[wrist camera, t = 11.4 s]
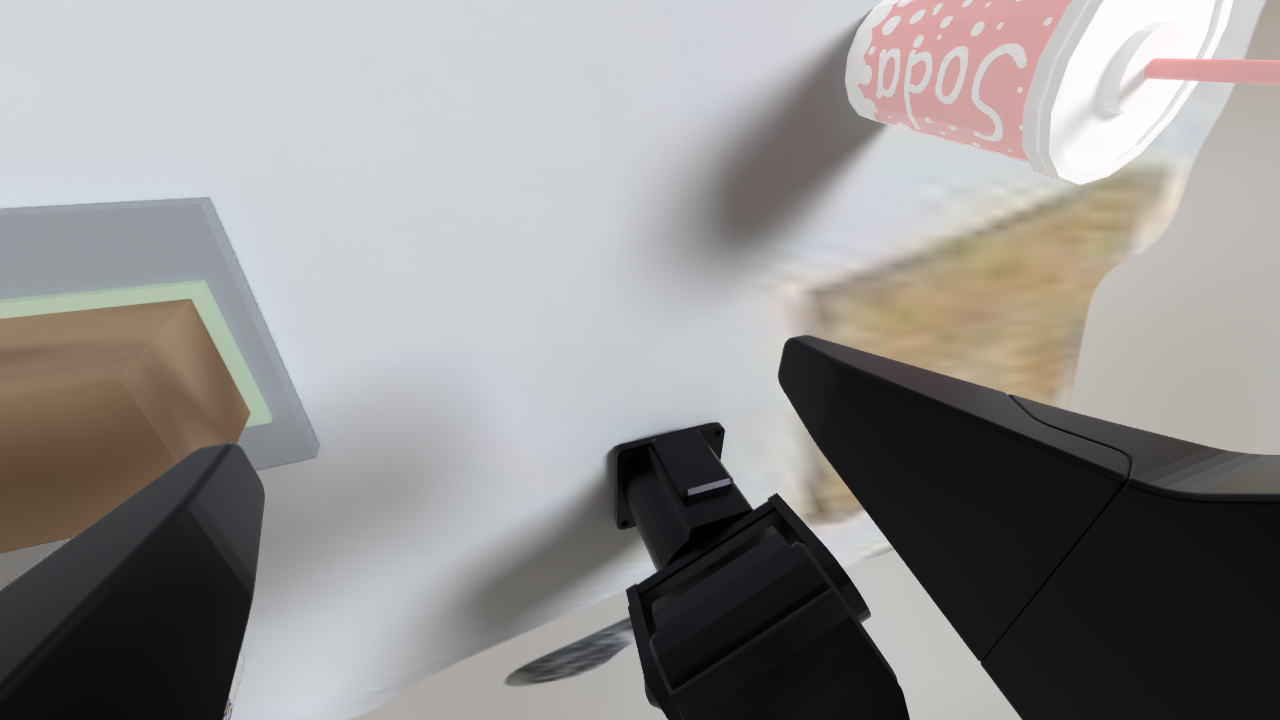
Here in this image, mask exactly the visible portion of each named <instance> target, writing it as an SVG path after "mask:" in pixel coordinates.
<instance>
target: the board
mask: <svg viewBox="0 0 1280 720" xmlns="http://www.w3.org/2000/svg"><path fill="white" fill-rule="evenodd" d="M182 299H191V300H192V301H193V303H194V305H195V307H196V309H197V311H198V313H199V315H200V317H201V319H202V321H203V323H204V324H205V326H206V328H207V330H208V332H209V334H210V336H211V338H212V340H213V342H214V344H215V346H216V348H217V349H218V351H219V353H220V355H221V357H222V359H223V361H224V363H225V365H226V367H227V369H228V371H229V372H230V374H231V376H232V378H233V380H234V382H235V384H236V386H237V388H238V390H239V392H240V394H241V395H242V397H243V399H244V401H245V403H246V405H247V407H248V409H249V411H250V413H251V414H250V416H249V418H248V420H247V423H246V425H245V427H244V429H243V431H242V433H241V435H240V438H239V440H238V442H237V444H238V445H240V446H241V447H242V449H243V450H244V452H245V454H246V455H247V457H248V459H249V461H250V462H251V464H252V466H253V468H254V469H255V470H258V469H263V468H268V467H273V466H278V465H283V464H288V463H293V462H298V461H303V460H307V459H312V458H316V456H317V453H318V449H319V442H318V440H317V438H316V436H315V433H314V431H313V429H312V427H311V424H310V422H309V420H308V418H307V415H306V413H305V411H304V409H303V406H302V404H301V402H300V400H299V397H298V395H297V393H296V391H295V388H294V386H293V384H292V382H291V379H290V377H289V375H288V373H287V370H286V368H285V366H284V364H283V361H282V359H281V357H280V355H279V352H278V350H277V348H276V346H275V343H274V341H273V339H272V337H271V334H270V332H269V330H268V328H267V325H266V323H265V321H264V319H263V316H262V314H261V312H260V310H259V307H258V305H257V303H256V301H255V298H254V296H253V294H252V292H251V289H250V287H249V285H248V283H247V280H246V278H245V276H244V274H243V271H242V269H241V267H240V265H239V262H238V260H237V258H236V255H235V253H234V251H233V249H232V246H231V244H230V242H229V240H228V237H227V235H226V233H225V231H224V228H223V226H222V224H221V222H220V219H219V217H218V215H217V213H216V210H215V208H214V206H213V204H212V201H211V199H210V197H206V198H188V199H170V200H151V201H133V202H115V203H96V204H78V205H60V206H41V207H23V208H5V209H0V319H3V318H13V317H22V316H32V315H41V314H50V313H60V312H69V311H79V310H88V309H97V308H107V307H116V306H126V305H135V304H144V303H154V302H163V301H173V300H182Z"/></svg>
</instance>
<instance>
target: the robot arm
mask: <svg viewBox="0 0 1280 720" xmlns="http://www.w3.org/2000/svg"><path fill="white" fill-rule="evenodd" d="M778 379H779V383H780V385H781V387H782V389H783V391H784V392H785V394H786V395H787V397H788V399H789V400H790V402H791V404H792V405H793V407H794V409H795V410H796V412H797V414H798V415H799V417H800V419H801V420H802V422H803V424H804V425H805V427H806V429H807V430H808V432H809V434H810V435H811V437H812V438H813V440H814V441H815V443H816V445H817V446H818V447H819V449H820V450H821V452H822V453H823V454H824V456H825V457H826V458H827V460H828V461H829V462H830V464H831V465H832V466H833V468H834V469H835V470H836V472H837V473H838V474H839V476H840V477H841V478H842V480H843V481H844V482H845V484H846V485H847V486H848V488H849V489H850V490H851V492H852V493H853V494H854V496H855V497H856V498H857V500H858V501H859V502H860V504H861V505H862V506H863V508H864V509H865V510H866V512H867V513H868V514H869V516H870V517H871V518H872V520H873V521H874V522H875V524H876V525H877V526H878V528H879V529H880V530H881V532H882V533H883V534H884V536H885V537H886V538H887V540H888V541H889V542H890V544H891V545H892V546H893V548H894V549H895V550H896V552H897V553H898V554H899V556H900V557H901V558H902V560H903V561H904V562H905V563H906V565H907V566H908V568H909V569H910V570H911V572H912V573H913V574H914V576H915V577H916V578H917V580H918V581H919V582H920V584H921V585H922V586H923V588H924V589H925V590H926V591H927V593H928V594H929V595H930V597H931V598H932V599H933V601H934V602H935V604H936V605H937V606H938V608H939V609H940V610H941V611H942V613H943V614H944V615H945V616H946V618H947V619H948V620H949V622H950V623H951V625H952V626H953V627H954V629H955V630H956V631H957V633H958V634H959V635H960V637H961V638H962V639H963V641H964V642H965V643H966V645H967V646H968V647H969V649H970V650H971V651H972V653H973V654H974V655H975V656H976V658H977V659H978V660H979V661H981V665H982V667H983V668H984V669H985V671H986V672H987V673H988V675H989V676H990V677H991V678H992V680H993V681H994V683H995V684H996V685H997V687H998V688H999V689H1000V691H1001V692H1002V693H1003V695H1004V696H1005V697H1006V699H1007V700H1008V701H1009V703H1010V704H1011V705H1012V707H1013V708H1014V709H1015V711H1016V712H1017V713H1018V715H1019V716H1020V717H1021V718H1022V720H1280V455H1260V454H1248V453H1240V452H1232V451H1227V450H1222V449H1217V448H1213V447H1208V446H1204V445H1200V444H1196V443H1192V442H1188V441H1184V440H1180V439H1176V438H1172V437H1168V436H1164V435H1161V434H1156V433H1153V432H1149V431H1145V430H1140V429H1137V428H1132V427H1129V426H1125V425H1121V424H1117V423H1113V422H1109V421H1105V420H1101V419H1097V418H1093V417H1090V416H1086V415H1082V414H1078V413H1075V412H1071V411H1067V410H1064V409H1060V408H1057V407H1053V406H1050V405H1046V404H1042V403H1039V402H1035V401H1032V400H1028V399H1025V398H1022V397H1018V396H1015V395H1011V394H1009V395H1007V394H1006V393H1004V392H1001V391H997V390H994V389H991V388H987V387H984V386H980V385H977V384H974V383H970V382H967V381H963V380H960V379H956V378H953V377H950V376H946V375H943V374H939V373H936V372H933V371H929V370H926V369H922V368H919V367H915V366H912V365H909V364H905V363H902V362H898V361H895V360H892V359H888V358H885V357H881V356H878V355H874V354H871V353H868V352H864V351H861V350H857V349H854V348H851V347H847V346H844V345H840V344H837V343H833V342H830V341H827V340H823V339H820V338H816V337H813V336H809V335H803V336H798V337H793V338H789V339H788V340H787V341H786V343H785V345H784V348H783V353H782V358H781V362H780V367H779V371H778ZM715 431H716V432H715ZM724 434H725V429H724V428H723V427H722V425H721V424H720V423H718V422H716V423H711V424H707V425H702V426H698V427H694V428H690V429H685V430H681V431H677V432H673V433H668V434H664V435H660V436H656V437H652V438H647V439H643V440H639V441H635V442H630V443H626V444H623V445H620V446H619V447H618V448H617V449H616V450H615V522H616V525H617V527H618V528H619V529H627V528H631V527H634V526H637V528H638V530H639V532H640V534H641V537H642V539H643V541H644V543H645V546H646V548H647V550H648V552H649V555H650V557H651V559H652V561H653V564H654V566H655V568H656V570H657V572H656V573H655V574H653V575H652V576H650V577H649V578H647V579H646V580H644V581H642V582H641V583H639V584H638V585H637V584H634V585H633V586H631V587H629V588H628V589H626V593H627V597H628V601H629V605H630V606H628V610H629V614H630V618H631V623H632V627H633V631H634V636H635V640H636V644H637V648H638V653H639V657H640V661H641V665H642V670H643V674H644V681H645V693H646V696H647V699H648V701H649V702H650V704H651V705H652V706H654V707H657V708H659V709H661V710H662V711H663V712H664V714H665V715H666V717H667V719H668V720H910V718H909V714H908V710H907V706H906V702H905V698H904V694H903V691H902V689H901V687H900V686H899V684H898V682H897V678H896V675H895V673H894V672H893V670H892V668H891V667H890V665H889V664H888V662H887V661H886V659H885V658H884V656H883V655H882V654H881V652H880V651H879V649H878V648H877V646H876V645H875V643H874V642H873V640H872V639H871V637H870V636H869V635H868V633H867V632H866V630H865V629H864V627H863V626H862V624H861V623H862V622H863V621H865V620H866V619H868V618H869V617H871V613H870V611H869V608H868V607H867V605H866V603H865V601H864V600H863V598H862V596H861V594H860V593H859V591H858V590H857V588H856V587H855V585H854V584H853V582H852V581H851V579H850V578H849V576H848V575H847V574H846V572H845V571H844V569H843V568H842V567H841V565H840V564H839V563H838V561H837V560H836V559H835V558H834V556H833V555H832V554H831V553H830V551H829V550H828V549H827V548H826V547H825V545H824V544H823V543H822V542H821V541H820V540H819V539H818V538H817V537H816V535H815V534H814V533H813V532H812V531H811V530H810V529H809V528H808V527H807V526H806V524H805V523H804V522H803V521H802V520H801V519H800V518H799V517H798V516H797V515H796V513H795V512H794V511H793V510H792V509H791V508H790V507H789V506H788V505H787V504H786V502H785V501H784V500H783V499H782V498H781V497H780V496H779V495H778V494H777V493H776V494H774V495H773V496H771V497H769V498H768V501H767V502H765V503H764V504H762V505H761V506H759V507H757V508H756V509H754V510H753V508H752V507H751V506H750V504H749V503H748V501H747V500H746V499H745V497H744V496H743V494H742V493H741V492H740V490H739V489H738V487H737V486H736V484H735V483H734V482H733V478H732V477H731V475H730V474H729V473H728V471H727V470H726V468H725V467H724V466H723V464H722V463H721V461H720V459H721V453H722V446H723V440H724ZM626 452H627V453H626ZM624 453H626V454H624ZM623 454H624V455H623ZM264 501H265V493H264V488H263V484H262V482H261V480H260V478H259V477H258V475H257V473H256V471H255V469H254V468H253V466H252V464H251V462H250V461H249V459H248V457H247V455H246V454H245V452H244V450H243V449H242V447H241V446H240V445H238V444H236V443H233V442H228V443H223V444H217V445H212V446H207V447H202V448H199V449H197V450H195V451H193V452H192V453H191V454H189V455H188V456H187V457H185V458H184V459H182V460H181V461H180V462H178V463H177V464H175V465H174V466H173V467H171V468H170V469H168V470H167V471H166V472H164V473H163V474H162V475H160V476H159V477H157V478H156V479H155V480H153V481H152V482H150V483H149V484H148V485H146V486H145V487H144V488H142V489H141V490H139V491H138V492H137V493H135V494H134V495H132V496H131V497H130V498H128V499H127V500H126V501H124V502H123V503H121V504H120V505H119V506H117V507H116V508H114V509H113V510H112V511H110V512H109V513H107V514H106V515H105V516H103V517H102V518H101V519H99V520H98V521H96V522H95V523H94V524H92V525H91V526H89V527H88V528H87V529H85V530H84V531H83V532H81V533H80V534H78V535H77V536H76V537H74V538H73V539H71V540H70V541H69V542H67V543H66V544H65V545H63V546H62V547H60V548H59V549H58V550H56V551H55V552H53V553H52V554H51V555H49V556H48V557H47V558H45V559H44V560H42V561H41V562H40V563H38V564H37V565H35V566H34V567H33V568H31V569H30V570H28V571H27V572H26V573H24V574H23V575H22V576H20V577H19V578H17V579H16V580H15V581H13V582H12V583H10V584H9V585H8V586H6V587H5V588H4V589H2V590H1V591H0V720H223V718H224V714H225V710H226V706H227V702H228V698H229V694H230V690H231V686H232V682H233V678H234V674H235V670H236V666H237V662H238V658H239V654H240V650H241V646H242V642H243V638H244V634H245V630H246V626H247V622H248V618H249V614H250V609H251V605H252V600H253V594H254V587H255V580H256V571H257V562H258V554H259V545H260V536H261V527H262V519H263V510H264Z"/></svg>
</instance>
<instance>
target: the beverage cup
mask: <svg viewBox="0 0 1280 720" xmlns="http://www.w3.org/2000/svg"><path fill="white" fill-rule="evenodd" d="M1232 4H1233V0H883V1H882V2H880V3H879V4H878V5H876V6H875V7H874V8H873V9H872V10H871V12H870V13H869V15H868V16H867V17H866V19H865V20H864V21H863V23H862V24H861V26H860V27H859V28H858V30H857V33H856V35H855V38H854V41H853V43H852V46H851V48H850V51H849V54H848V58H847V67H846V76H845V84H846V89H847V94H848V99H849V102H850V104H851V105H852V106H853V108H854V109H855V110H856V112H857V113H858V114H859V116H862V117H865V118H868V119H871V120H873V121H877V122H881V123H884V124H888V125H892V126H896V127H899V128H903V129H907V130H910V131H914V132H918V133H922V134H925V135H929V136H933V137H936V138H940V139H944V140H948V141H951V142H955V143H959V144H962V145H966V146H970V147H974V148H977V149H981V150H985V151H989V152H992V153H996V154H1000V155H1003V156H1007V157H1011V158H1015V159H1018V160H1022V161H1026V162H1029V163H1030V165H1031V167H1032V169H1033V171H1036V172H1038V173H1041V174H1044V175H1047V176H1049V177H1052V178H1059V179H1061V180H1064V181H1067V182H1070V183H1074V184H1078V185H1081V184H1085V183H1088V182H1091V181H1095V180H1098V179H1101V178H1105V177H1108V176H1109V175H1111V174H1112V173H1114V172H1115V171H1117V170H1118V169H1119V168H1121V167H1122V166H1124V165H1125V164H1126V163H1128V162H1129V161H1131V160H1132V159H1133V158H1135V157H1136V156H1138V155H1139V154H1140V153H1141V152H1142V151H1143V150H1144V149H1145V148H1146V147H1147V146H1148V145H1149V144H1150V143H1151V141H1152V140H1153V139H1154V138H1155V137H1156V136H1157V135H1158V134H1159V133H1160V132H1161V131H1162V130H1163V129H1164V128H1165V127H1166V126H1167V124H1168V123H1169V122H1170V121H1171V120H1172V119H1173V118H1174V116H1175V115H1176V113H1177V112H1178V110H1179V109H1180V107H1181V106H1182V105H1183V103H1184V102H1185V100H1186V99H1187V97H1188V96H1189V94H1190V93H1191V91H1192V90H1193V88H1194V87H1195V86H1196V84H1197V83H1198V81H1207V82H1228V83H1249V84H1270V85H1280V60H1276V61H1275V60H1231V59H1211V57H1212V55H1213V53H1214V51H1215V49H1216V47H1217V45H1218V42H1219V40H1220V38H1221V36H1222V34H1223V32H1224V30H1225V28H1226V26H1227V22H1228V19H1229V15H1230V11H1231V8H1232Z"/></svg>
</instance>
